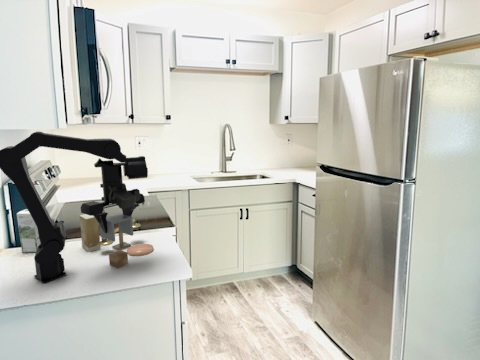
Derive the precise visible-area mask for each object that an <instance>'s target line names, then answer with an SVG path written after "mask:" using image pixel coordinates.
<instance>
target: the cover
mask: <svg viewBox="0 0 480 360" xmlns="http://www.w3.org/2000/svg"><path fill="white" fill-rule="evenodd" d="M132 219H133V216H127V215H124V214H123V213H121V212H120V213H119V212H118V213H115V214H110V215H107V216H106V221H107V233H104V231H103V230H102V228H101V226H100V225H99V236H100V238H105V239H107V240H110V241H113V243H114V242H116V235H115V232H114V230H115V224H118V226H117V228H118V227H119V231H118V233H119V232H122V233H123V234H125V235H129V236H131V237H132V236H134V228H133V222H132Z"/></svg>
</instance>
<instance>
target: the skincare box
mask: <svg viewBox="0 0 480 360" xmlns="http://www.w3.org/2000/svg"><path fill="white" fill-rule="evenodd" d="M79 224H80V225H79V226H80V236H81V247H82V248H83V250H85V251H87V252H89V253H90V252H93V251H97V250H100V249H101V245H99V242H100V241H101V235H100V225H99V223H98V221H97V220H96V218H95V217H94V216H93V215H92V216H90V215H87V214H84V213H82V214H79Z"/></svg>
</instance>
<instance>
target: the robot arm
mask: <svg viewBox="0 0 480 360" xmlns="http://www.w3.org/2000/svg"><path fill="white" fill-rule="evenodd" d="M41 147H44V148H51V149H60V150H66V151H67V150H68V151H75V152H80V153H81V152H83V153H87V154H90V155H93V156H96V157H98V159H97V161H96V162H94V164H93V165H94V167H95V168H101V170H100V171H101V181H102V183H100V184H99V185H100V188H102V191H103V192H102V193H103V196H101V201H103V202H99V201H96V200H95V201H94V200H91V201H87V202H82V204H81V205H80V213H82V214H87V215H90V216H92V215H93V216H94V217H95V218H96V220H97V221H98V223H99V227H100V226H101V228H102V230H103V231H104V233H107V221H106V216H108V212H106V211H105V209H107V208H108V209H109V208H111V207H112V208H113V207H116V206H118V208H119V209H121V211H122V214H124V215H127V216H131V217H133V216H132V215H133V213H134V211H135V209H136V208H138V207H139V206H140V205H141V204H144V203H146V199H145V196H144V194H143V193H140V190H139V188H134V189H133V188H132V189H131V190H130V189H129V190H128V189H127V185H126V183H123V175H124V177H126V178H127V179H128V180H135V179H136V180H138V179H146V178H148V173H149V171H148V167H147V162H146V157H145V156H144V155H139V156H136V157H134V156H133V157H127V155H125V154H124V153H123V152H122V151H121V149H122V148H121V146H120V143H118V142H117V141H116V140H115V139H112V138H81V137H74V136H67V135H60V134H54V133H45V132H42V131H35V132H32V133H31V134H30V135H29V136H27V137H26V138H25V139H23V140H21V141H20V142H18V143H17V144H16V145H14V146H6V147H4V148H2V149H0V170H1V172H3V174H4V175H5V176H6V177H7V178H9V180H11V182H12V183H13V184H14V186H15V189H16V190H17V192H18V194H19V196H20V197H21V199H22V201H23V203H24V205H25V208H26V209H28V211H29V213H30V214H31V216H32V218H33V220H34V222H35V224H36V226H37V229H38V234H39V239H40V243H41V244H40V245H39V246H38V248H37V251H36V252H35V253H34V254H35V255H34V257H33V258H34V265H35V273H36V274H35V275H33V276H34V278H35V279H36V280H37V281H39V282H41V283H43V284H45V283H48V282H52V281H54V280H57V279H60V278H62V277H66V276H67V273H66V272H65V270H66V269H65V260H64V258H63V257H62V254H61V252H62V251H64V249H65V246H66V245H65V244H66V238H67V231H66V230H65V229H64V227H63V224H62V221H58V222H56V221H54V219H52V218H51V216H50V214H49V212H48V210H47V207H46V205H45V204H44V202H43V200H42V198H41V196H40V194H39V192H38V190H37V188H36V186H35V184H34V182H33V180H32V178H31V176H30V171H29V167H28V162H27V160H26V157H27V156H28V155H30V154H31V153H32V152H34V151H35V150H37V149H38V148H41ZM101 158H103V159H106V160H102V159H101ZM114 160H116V161H118V162H114ZM122 167H123V168H122ZM122 170H123V171H122Z"/></svg>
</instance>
